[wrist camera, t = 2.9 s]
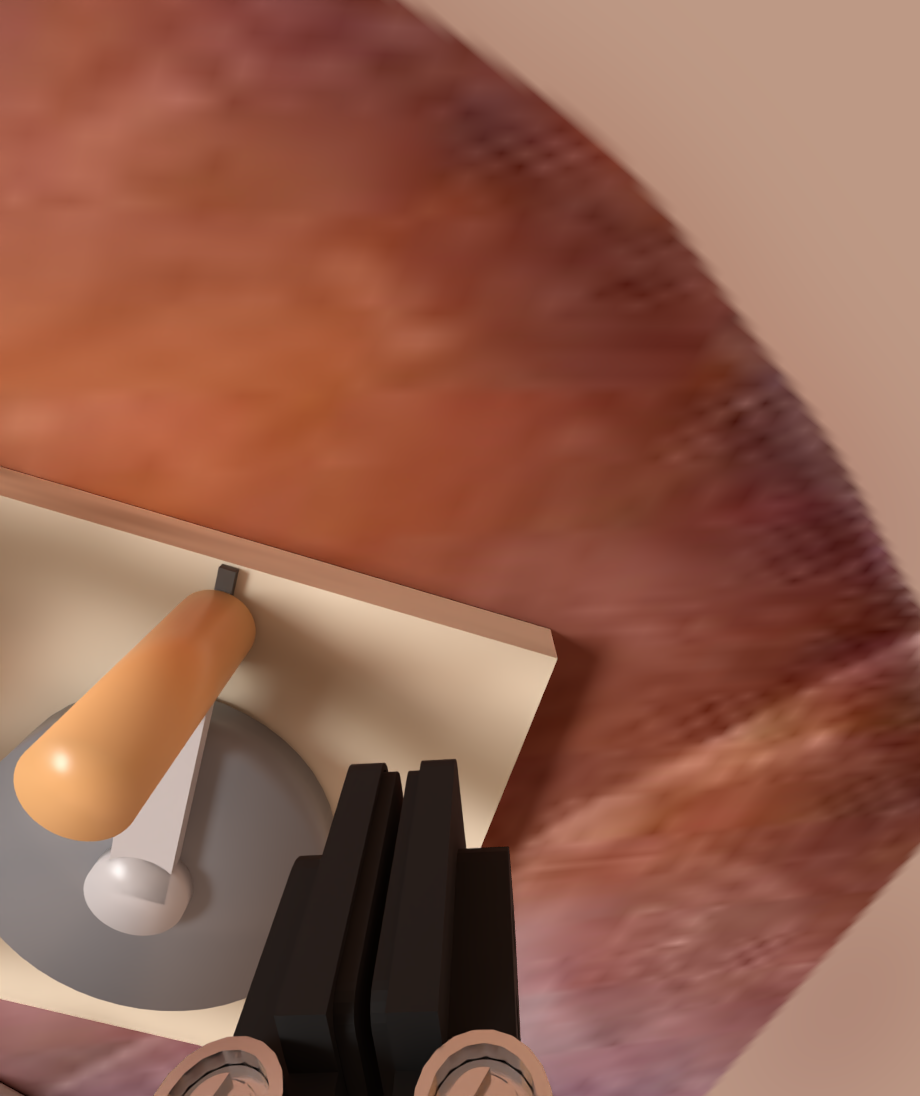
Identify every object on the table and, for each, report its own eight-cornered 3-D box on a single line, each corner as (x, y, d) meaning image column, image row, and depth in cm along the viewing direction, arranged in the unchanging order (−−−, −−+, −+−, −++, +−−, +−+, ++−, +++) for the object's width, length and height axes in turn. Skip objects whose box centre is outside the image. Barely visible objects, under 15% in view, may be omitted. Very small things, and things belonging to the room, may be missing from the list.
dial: (296, 986, 24) (225, 1251, 17) (-8, 913, 23) (-209, 1160, 17) (406, 642, 20) (369, 816, 13) (33, 534, 19) (-222, 658, 12)
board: (388, 1036, 28) (382, 1096, 26) (-93, 921, 27) (-143, 974, 24) (550, 629, 22) (559, 663, 20) (-68, 446, 20) (-133, 461, 18)
